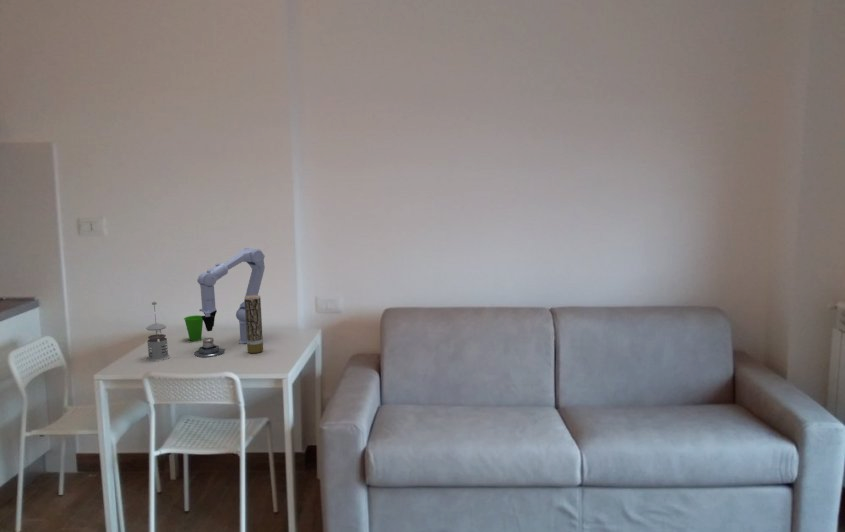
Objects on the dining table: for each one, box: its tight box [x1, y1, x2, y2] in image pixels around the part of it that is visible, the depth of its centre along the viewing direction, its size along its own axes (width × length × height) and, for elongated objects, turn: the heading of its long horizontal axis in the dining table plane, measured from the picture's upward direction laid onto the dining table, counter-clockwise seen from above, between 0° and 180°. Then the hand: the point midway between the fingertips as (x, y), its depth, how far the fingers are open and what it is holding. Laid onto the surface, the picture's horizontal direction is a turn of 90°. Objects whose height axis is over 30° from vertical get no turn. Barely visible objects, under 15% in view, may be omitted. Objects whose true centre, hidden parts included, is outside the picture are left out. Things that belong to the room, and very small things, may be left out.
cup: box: [183, 314, 204, 342], centre depth 305 cm, size 9×9×11 cm
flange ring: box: [193, 344, 226, 358], centre depth 284 cm, size 13×13×2 cm
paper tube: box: [244, 294, 264, 354], centre depth 283 cm, size 7×7×25 cm
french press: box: [145, 301, 171, 362], centre depth 276 cm, size 10×12×25 cm
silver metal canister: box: [201, 337, 215, 350], centre depth 283 cm, size 5×5×6 cm
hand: (210, 328), depth 287 cm, fingers open, 7 cm apart
